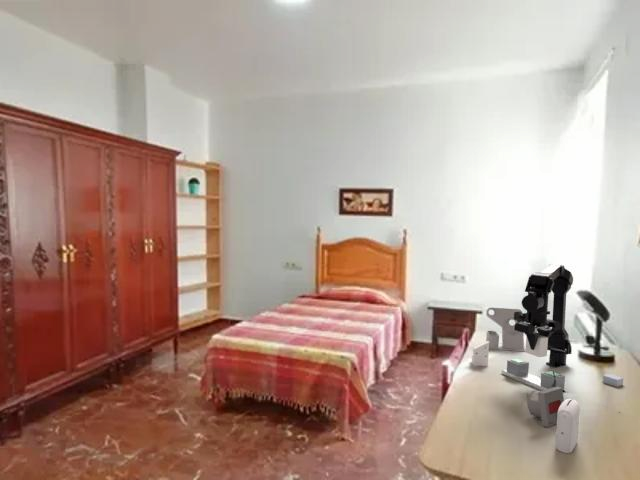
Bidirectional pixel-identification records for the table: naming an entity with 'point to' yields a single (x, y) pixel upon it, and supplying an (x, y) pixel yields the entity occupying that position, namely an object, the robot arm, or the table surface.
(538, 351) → the block
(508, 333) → the grey bracket with hole
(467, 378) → the table surface
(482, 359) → the white angled block
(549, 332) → the robot arm
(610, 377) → the relay block
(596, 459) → the table surface
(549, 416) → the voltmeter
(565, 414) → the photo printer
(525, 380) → the rail
